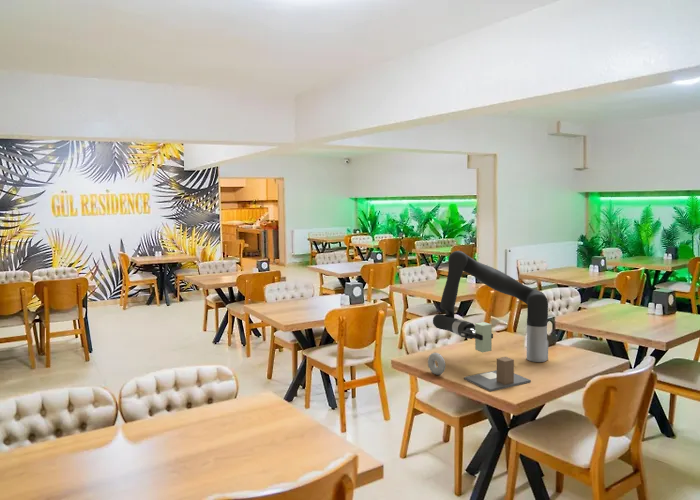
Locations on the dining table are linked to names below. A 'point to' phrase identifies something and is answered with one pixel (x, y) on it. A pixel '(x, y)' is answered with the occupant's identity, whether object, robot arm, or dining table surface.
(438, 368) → the donut
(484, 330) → the green pillar
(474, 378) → the build plate
